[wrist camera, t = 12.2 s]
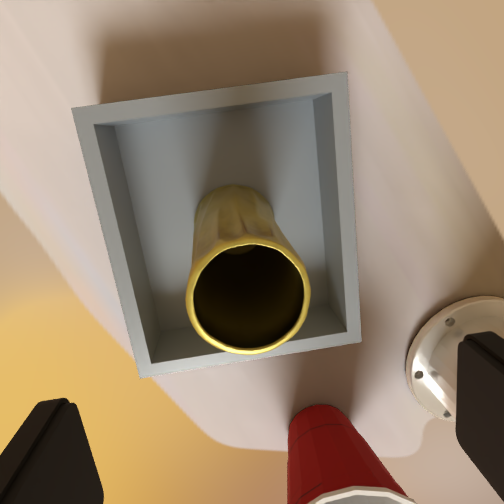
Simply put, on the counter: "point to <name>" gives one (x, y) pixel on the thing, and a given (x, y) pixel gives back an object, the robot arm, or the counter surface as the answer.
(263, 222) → the vase
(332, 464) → the plastic cup
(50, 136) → the counter surface
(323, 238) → the box
